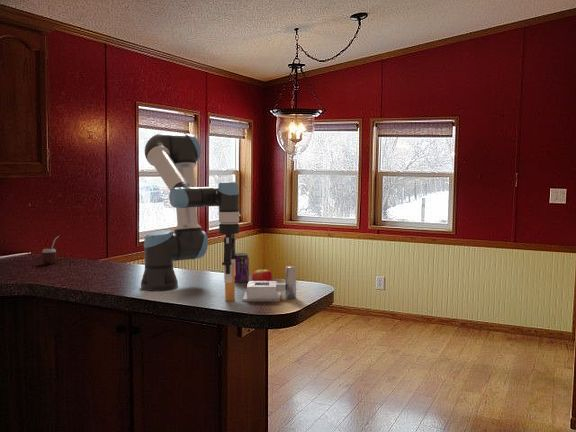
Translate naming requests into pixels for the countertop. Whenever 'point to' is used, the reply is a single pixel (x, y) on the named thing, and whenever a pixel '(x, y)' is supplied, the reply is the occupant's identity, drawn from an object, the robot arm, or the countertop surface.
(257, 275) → the apple
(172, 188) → the robot arm
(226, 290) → the orange rectangular block
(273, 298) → the white block with post
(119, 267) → the countertop surface
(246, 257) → the beverage can
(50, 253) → the mate gourd
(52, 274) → the countertop surface
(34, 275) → the countertop surface
